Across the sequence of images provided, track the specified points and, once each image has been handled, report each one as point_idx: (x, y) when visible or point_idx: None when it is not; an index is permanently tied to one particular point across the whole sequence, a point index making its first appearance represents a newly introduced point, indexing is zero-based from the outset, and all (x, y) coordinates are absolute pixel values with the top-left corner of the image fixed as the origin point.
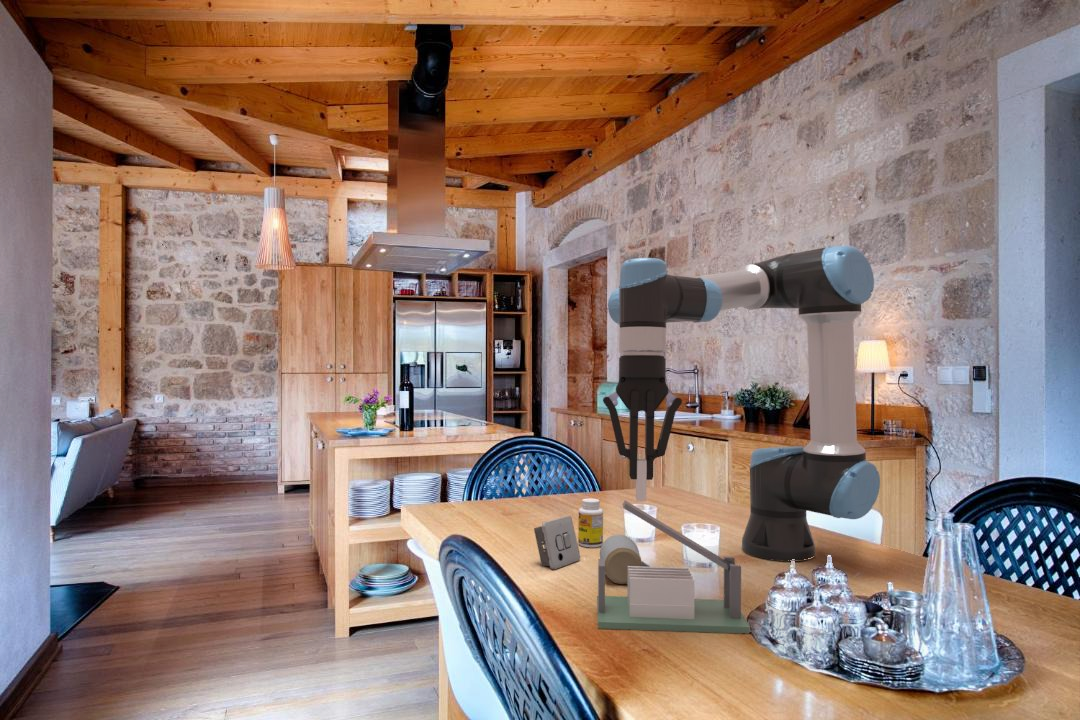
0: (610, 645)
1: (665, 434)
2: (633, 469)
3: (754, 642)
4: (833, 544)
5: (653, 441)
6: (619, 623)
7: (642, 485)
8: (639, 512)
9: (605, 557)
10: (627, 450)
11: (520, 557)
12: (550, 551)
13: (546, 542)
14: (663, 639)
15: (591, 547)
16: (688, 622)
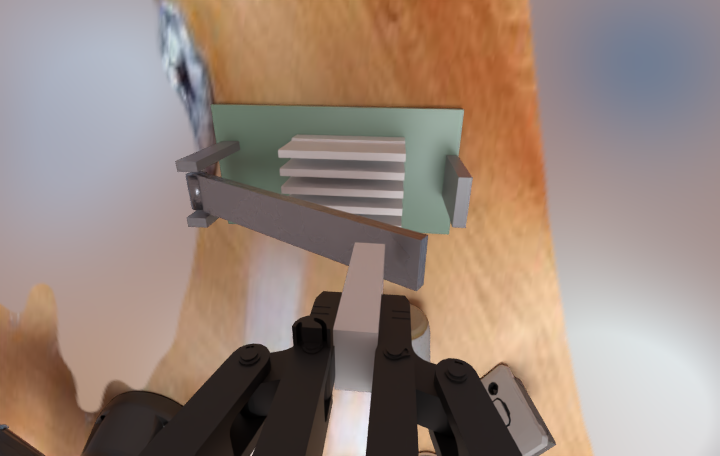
0: (450, 31)
1: (176, 448)
2: (394, 319)
3: (212, 67)
4: (81, 452)
5: (271, 412)
6: (426, 109)
7: (362, 268)
8: (378, 226)
9: (427, 334)
10: (427, 388)
11: (550, 417)
12: (516, 389)
13: (528, 406)
14: (356, 68)
15: (427, 452)
16: (308, 118)
